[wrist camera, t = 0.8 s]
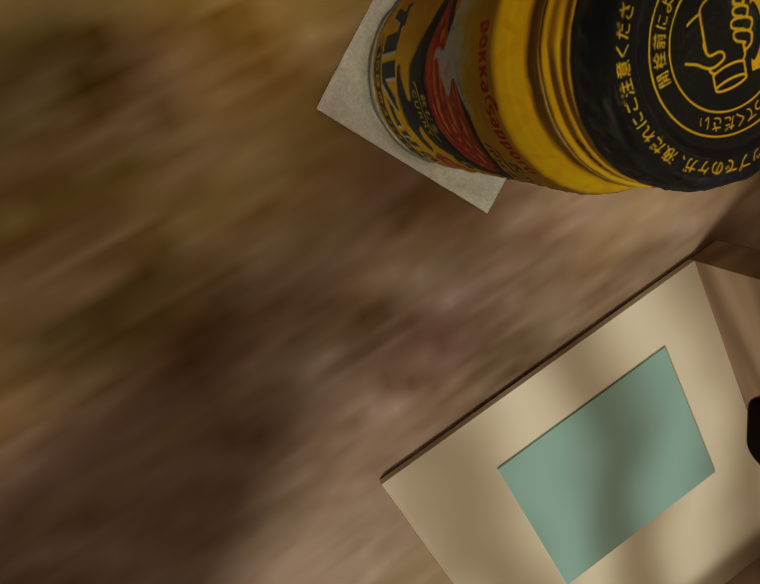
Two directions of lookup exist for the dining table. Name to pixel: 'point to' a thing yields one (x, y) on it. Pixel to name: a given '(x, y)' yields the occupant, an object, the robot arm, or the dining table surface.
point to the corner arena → (611, 449)
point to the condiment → (557, 92)
